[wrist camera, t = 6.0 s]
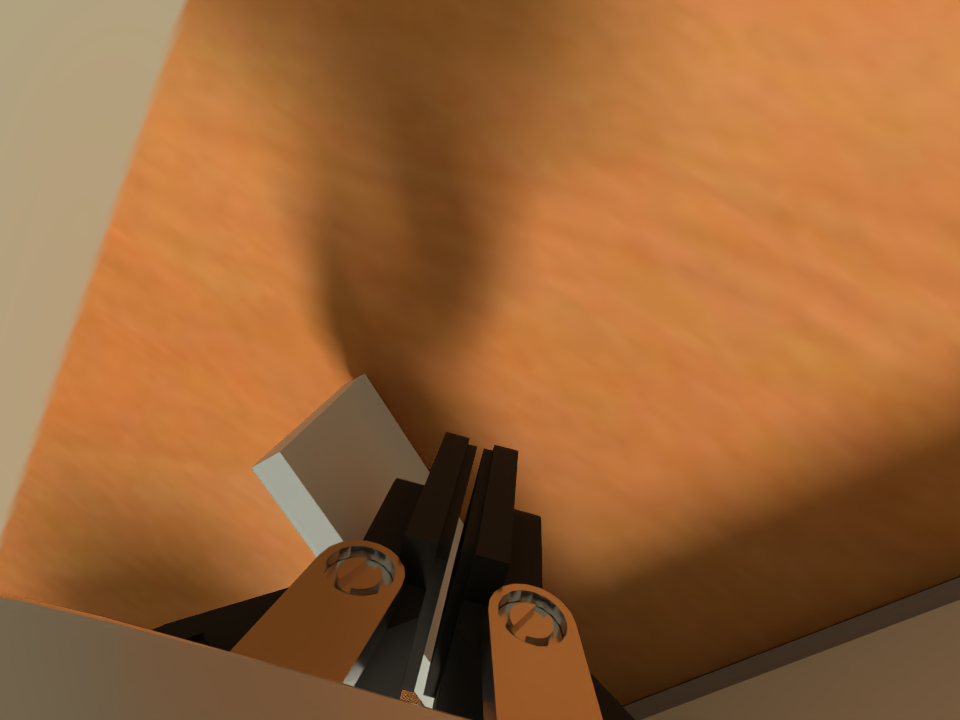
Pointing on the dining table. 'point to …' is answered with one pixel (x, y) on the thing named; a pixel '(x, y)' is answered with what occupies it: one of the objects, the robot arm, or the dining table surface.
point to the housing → (838, 671)
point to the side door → (347, 479)
